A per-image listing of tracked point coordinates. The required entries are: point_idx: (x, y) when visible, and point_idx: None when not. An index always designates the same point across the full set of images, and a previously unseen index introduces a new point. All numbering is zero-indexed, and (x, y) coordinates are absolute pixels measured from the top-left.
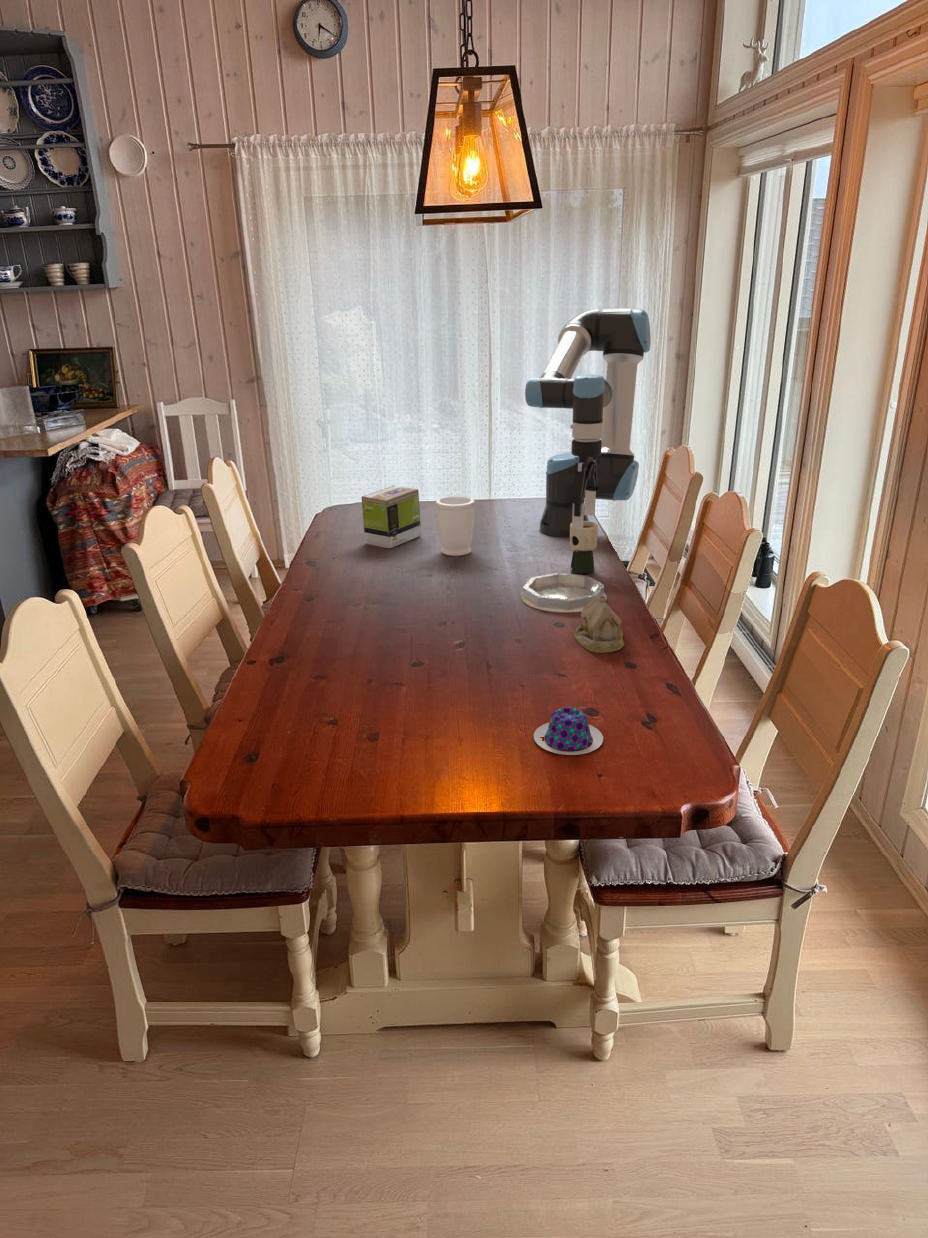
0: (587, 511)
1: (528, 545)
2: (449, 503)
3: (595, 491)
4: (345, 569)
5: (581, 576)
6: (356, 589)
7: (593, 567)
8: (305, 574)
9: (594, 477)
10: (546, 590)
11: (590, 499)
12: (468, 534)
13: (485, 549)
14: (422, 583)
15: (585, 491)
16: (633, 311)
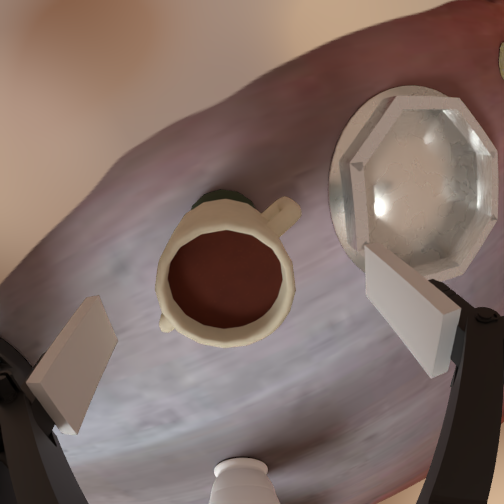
0: (106, 338)
1: (120, 406)
2: None
3: (35, 382)
4: (370, 489)
5: (362, 177)
6: (433, 446)
7: (221, 191)
8: (392, 492)
9: (20, 483)
10: (409, 240)
11: (76, 370)
12: (251, 487)
13: (198, 449)
14: (406, 423)
15: (77, 431)
16: None
